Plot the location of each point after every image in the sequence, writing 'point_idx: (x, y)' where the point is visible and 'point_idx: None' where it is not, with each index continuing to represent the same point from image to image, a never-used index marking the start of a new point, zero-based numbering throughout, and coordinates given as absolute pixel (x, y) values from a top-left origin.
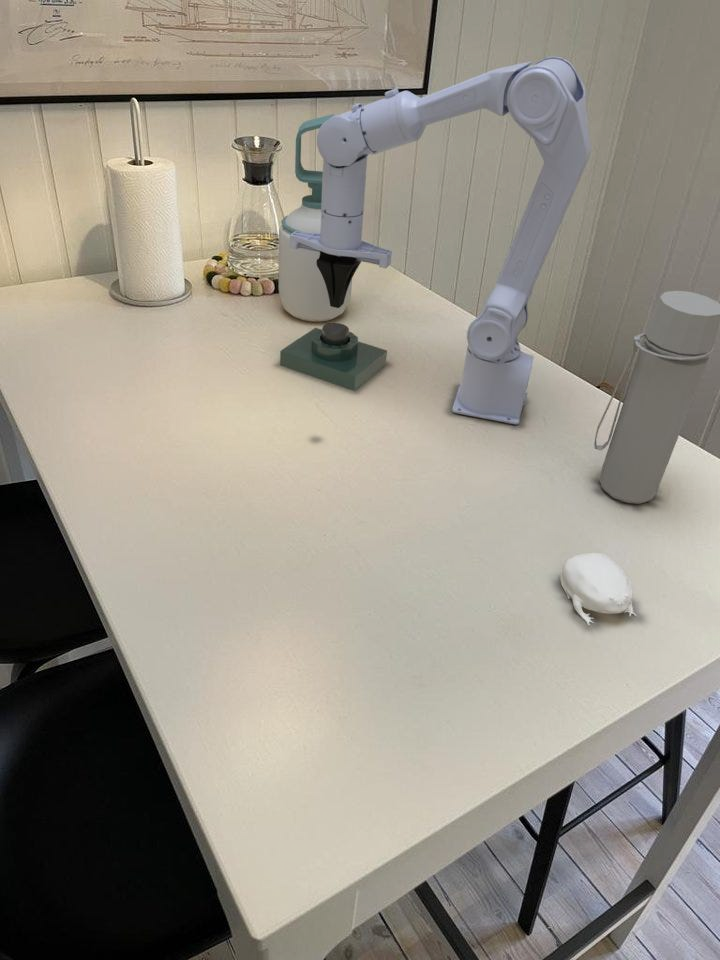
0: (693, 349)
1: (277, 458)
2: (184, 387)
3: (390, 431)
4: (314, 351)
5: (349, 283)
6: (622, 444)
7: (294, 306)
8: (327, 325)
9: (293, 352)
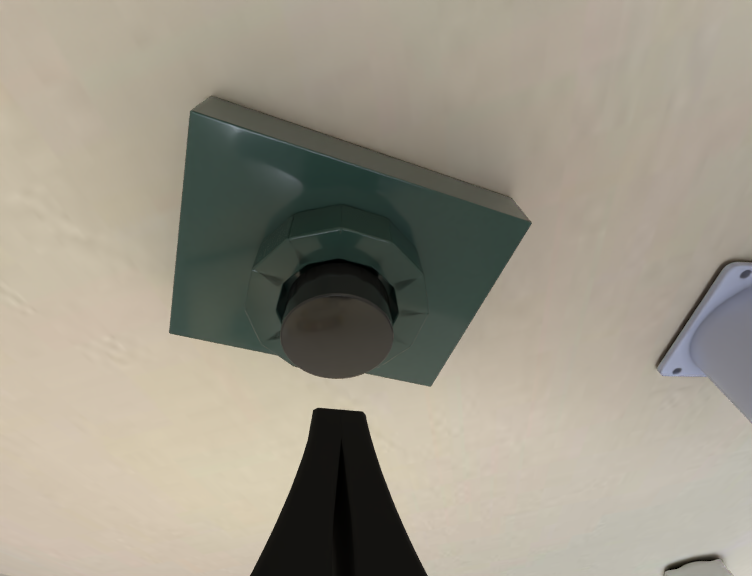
0: None
1: None
2: (46, 435)
3: (507, 441)
4: None
5: (399, 524)
6: None
7: None
8: (296, 329)
9: (214, 330)
